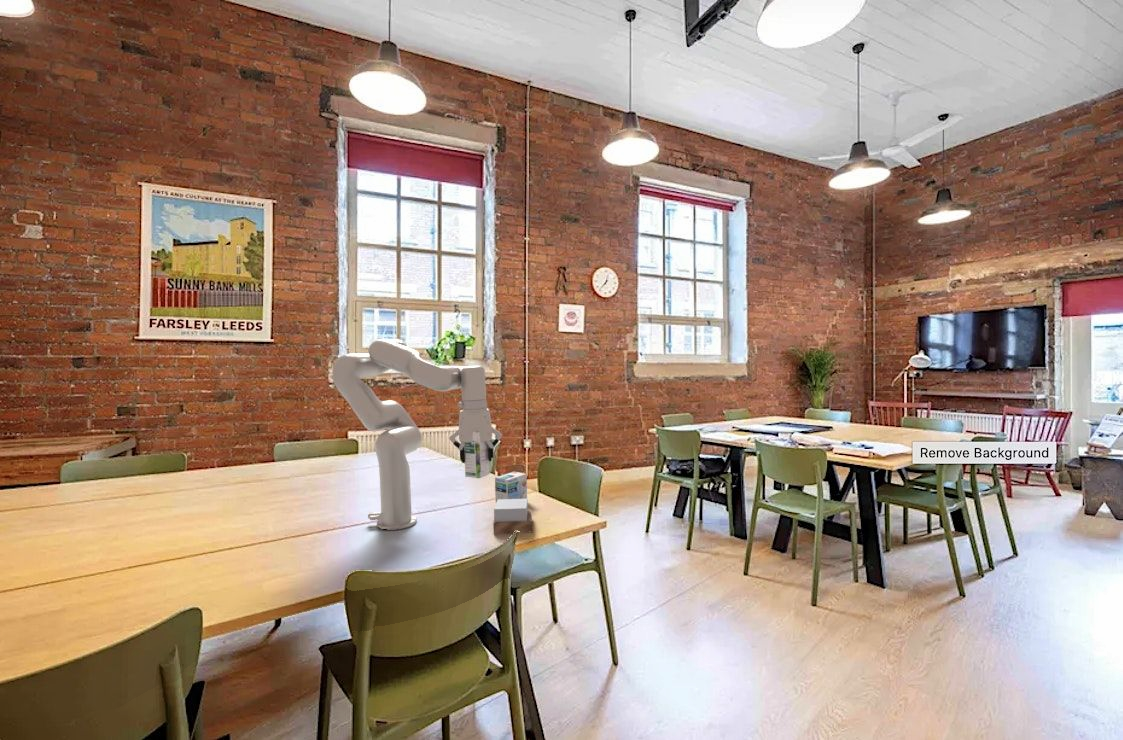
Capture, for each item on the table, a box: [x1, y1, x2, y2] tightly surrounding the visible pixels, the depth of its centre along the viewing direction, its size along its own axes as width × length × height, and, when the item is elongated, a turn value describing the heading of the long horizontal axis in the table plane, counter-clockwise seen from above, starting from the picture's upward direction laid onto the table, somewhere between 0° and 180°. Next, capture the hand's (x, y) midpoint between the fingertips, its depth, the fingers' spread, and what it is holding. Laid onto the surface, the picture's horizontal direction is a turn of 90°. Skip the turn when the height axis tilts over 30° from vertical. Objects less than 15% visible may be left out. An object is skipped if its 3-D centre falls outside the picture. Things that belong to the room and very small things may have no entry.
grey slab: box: [493, 498, 529, 522], centre depth 160 cm, size 10×10×4 cm
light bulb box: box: [494, 471, 528, 503], centre depth 182 cm, size 11×7×11 cm, turn 143°
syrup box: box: [464, 431, 491, 479], centre depth 156 cm, size 6×6×14 cm
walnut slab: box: [492, 508, 533, 535], centre depth 160 cm, size 12×12×4 cm
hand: (477, 460), depth 156 cm, fingers closed on syrup box, 7 cm apart
